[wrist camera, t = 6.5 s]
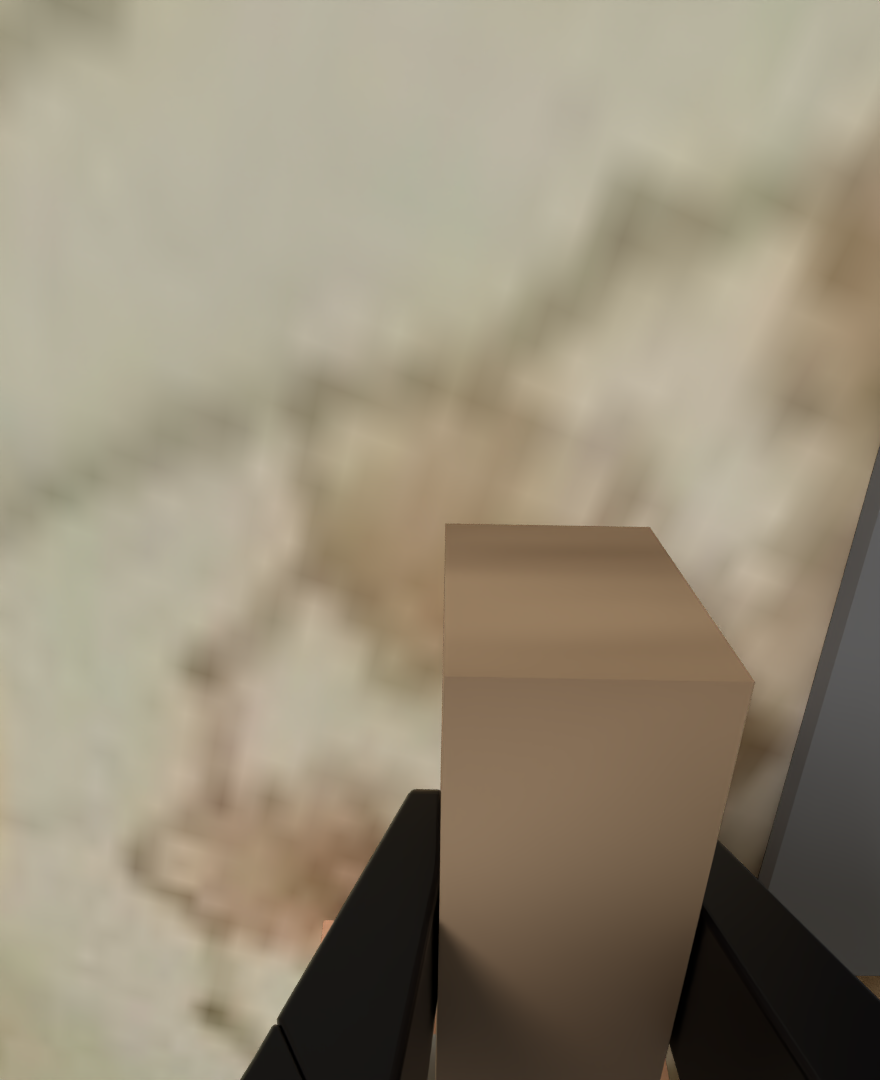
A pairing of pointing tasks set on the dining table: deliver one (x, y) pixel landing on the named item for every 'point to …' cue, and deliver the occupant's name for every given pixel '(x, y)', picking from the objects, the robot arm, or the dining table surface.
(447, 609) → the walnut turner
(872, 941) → the mat
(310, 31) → the dining table surface
